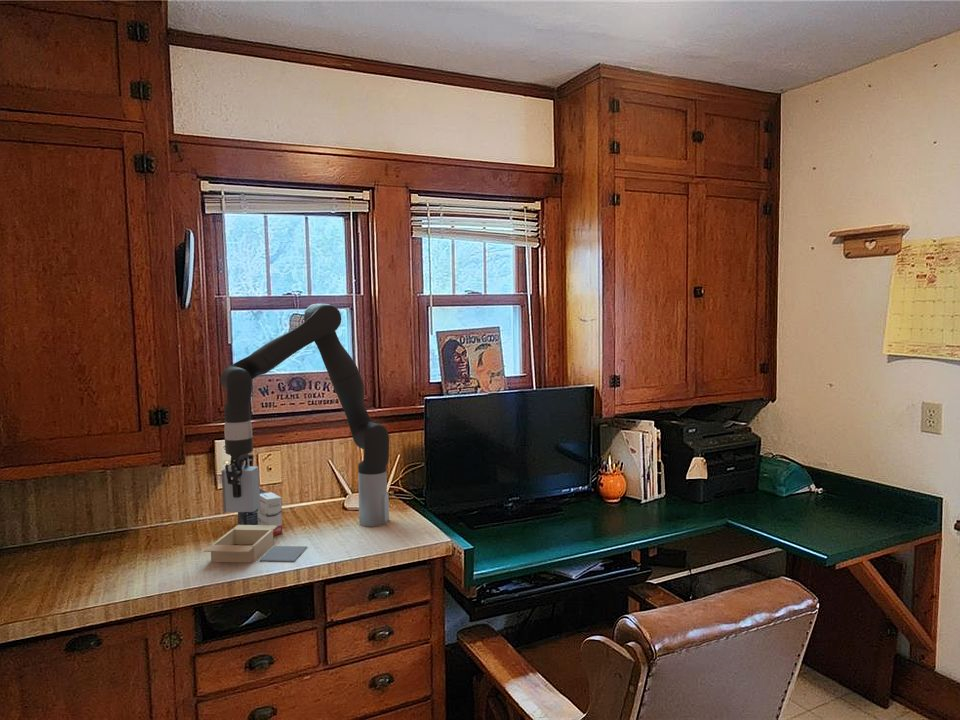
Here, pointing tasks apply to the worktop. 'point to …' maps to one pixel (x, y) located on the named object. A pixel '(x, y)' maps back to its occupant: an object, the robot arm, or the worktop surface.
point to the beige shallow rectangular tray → (242, 535)
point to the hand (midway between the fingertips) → (241, 494)
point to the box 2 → (249, 516)
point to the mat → (283, 554)
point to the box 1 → (242, 491)
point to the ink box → (270, 511)
